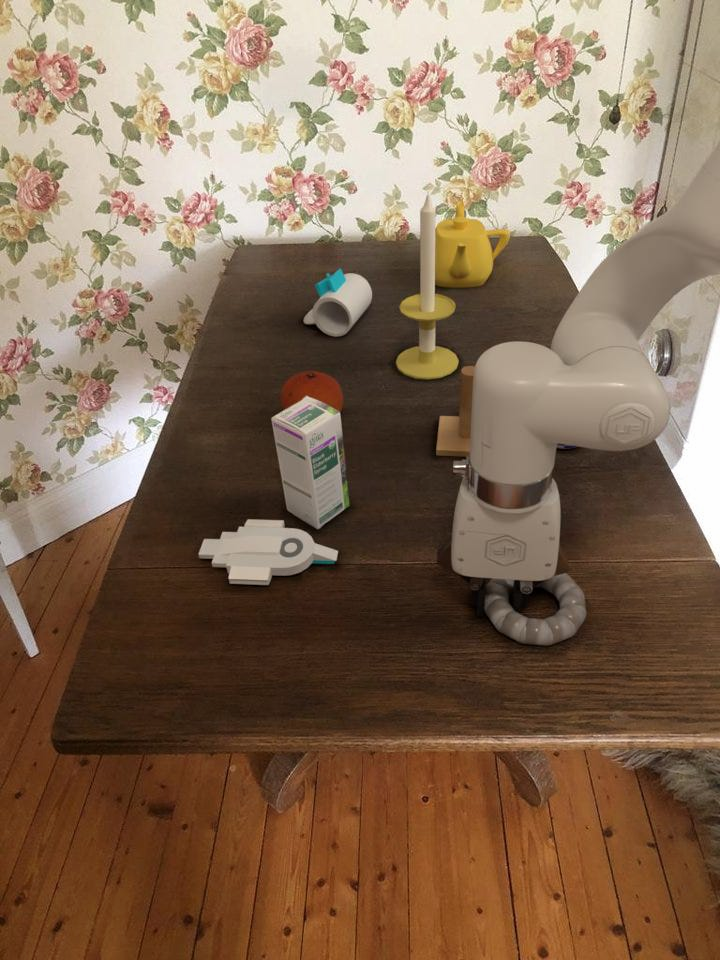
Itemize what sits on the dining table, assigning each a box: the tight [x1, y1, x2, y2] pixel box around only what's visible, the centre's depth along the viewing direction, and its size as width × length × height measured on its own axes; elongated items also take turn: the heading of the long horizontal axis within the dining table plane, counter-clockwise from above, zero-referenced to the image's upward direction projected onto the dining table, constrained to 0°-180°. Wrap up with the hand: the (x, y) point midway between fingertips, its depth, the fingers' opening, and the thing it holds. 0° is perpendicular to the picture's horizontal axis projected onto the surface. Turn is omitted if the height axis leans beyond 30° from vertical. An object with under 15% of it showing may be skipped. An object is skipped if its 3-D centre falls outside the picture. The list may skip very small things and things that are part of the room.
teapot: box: [435, 200, 511, 289], centre depth 141 cm, size 22×16×11 cm
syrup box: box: [270, 396, 350, 530], centre depth 89 cm, size 6×6×14 cm
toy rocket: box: [198, 518, 339, 586], centre depth 87 cm, size 16×10×2 cm, turn 84°
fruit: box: [280, 370, 344, 413], centre depth 107 cm, size 9×9×8 cm
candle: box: [395, 190, 460, 380], centre depth 111 cm, size 10×10×27 cm
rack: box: [435, 365, 475, 458], centre depth 100 cm, size 8×8×11 cm
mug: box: [303, 268, 373, 337], centre depth 131 cm, size 12×9×12 cm
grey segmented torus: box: [484, 573, 587, 647], centre depth 79 cm, size 10×10×3 cm
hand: (497, 606), depth 80 cm, fingers closed on grey segmented torus, 3 cm apart
